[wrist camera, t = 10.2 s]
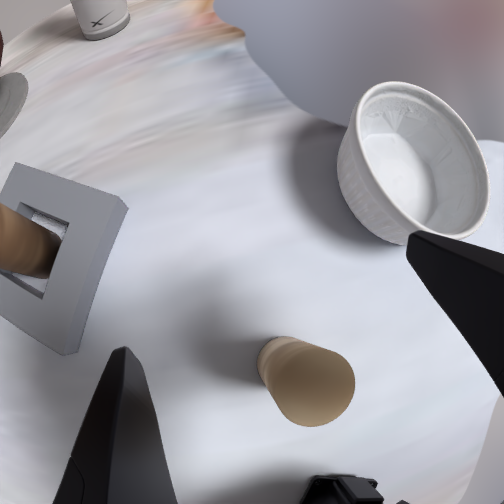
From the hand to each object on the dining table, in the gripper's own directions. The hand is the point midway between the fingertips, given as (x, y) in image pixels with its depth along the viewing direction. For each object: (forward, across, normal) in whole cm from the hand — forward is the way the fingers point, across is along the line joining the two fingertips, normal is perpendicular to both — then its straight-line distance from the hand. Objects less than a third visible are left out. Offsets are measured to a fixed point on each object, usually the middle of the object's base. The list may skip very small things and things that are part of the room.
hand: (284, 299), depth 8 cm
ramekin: (+13, -16, +6) cm, 22 cm away
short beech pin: (+6, -1, +13) cm, 15 cm away
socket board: (+16, +14, +3) cm, 22 cm away
